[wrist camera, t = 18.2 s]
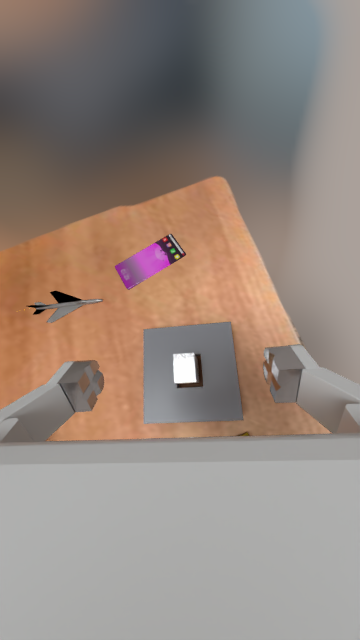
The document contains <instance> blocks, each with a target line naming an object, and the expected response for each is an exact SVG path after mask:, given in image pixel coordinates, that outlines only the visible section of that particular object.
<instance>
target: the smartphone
mask: <svg viewBox="0 0 360 640" xmlns="http://www.w3.org/2000/svg"><path fill="white" fill-rule="evenodd" d="M185 255H186V253H185V252H184V251H183V249H182V248H181V247H180V245H179V244H178V242H177V241H176V240H175V238H174V237H173V235H172V234H169V235H167V236H166V237H164V238H162V239H160V240H159V241H157V242H155V243H154V244H152V245H150V246H148V247H147V248H145V249H143V250H142V251H140V252H138V253H136V254H135V255H133V256H131V257H130V258H128V259H126V260H125V261H123V262H121V263H119V264H118V265H116V266H115V268H116V270H117V272H118V274H119V275H120V277H121V279H122V281H123V283H124V284H125V286H126V288H127V289H128V290H129V289H131V288H133V287H134V286H136V285H138V284H139V283H141V282H143V281H144V280H146V279H147V278H149V277H151V276H152V275H154V274H156V273H157V272H159V271H161V270H162V269H164V268H166V267H167V266H169V265H171V264H172V263H174V262H176V261H177V260H179V259H181V258H182V257H184V256H185Z"/></svg>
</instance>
